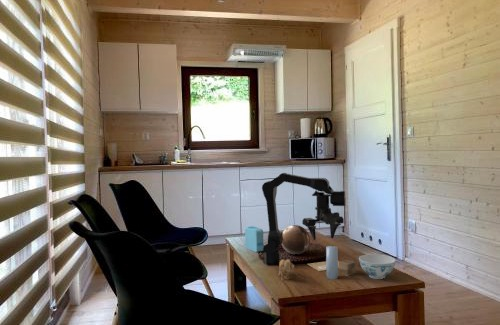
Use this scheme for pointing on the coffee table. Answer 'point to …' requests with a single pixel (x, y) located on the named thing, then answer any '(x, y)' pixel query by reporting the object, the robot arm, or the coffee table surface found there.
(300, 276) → the coffee table surface
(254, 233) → the data package
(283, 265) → the lion figurine
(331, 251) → the grey cylinder
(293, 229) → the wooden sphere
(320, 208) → the robot arm
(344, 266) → the walnut block
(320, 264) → the envelope
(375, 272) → the chinaware
